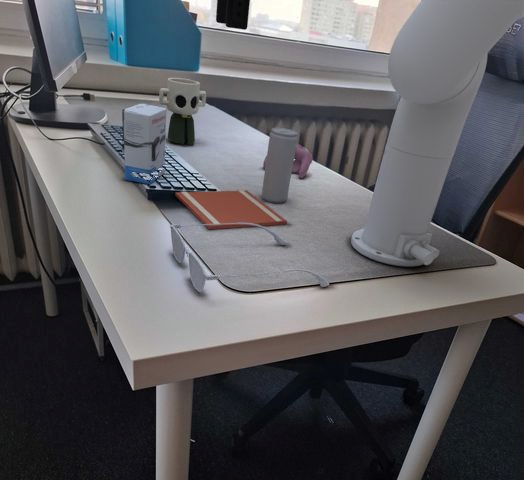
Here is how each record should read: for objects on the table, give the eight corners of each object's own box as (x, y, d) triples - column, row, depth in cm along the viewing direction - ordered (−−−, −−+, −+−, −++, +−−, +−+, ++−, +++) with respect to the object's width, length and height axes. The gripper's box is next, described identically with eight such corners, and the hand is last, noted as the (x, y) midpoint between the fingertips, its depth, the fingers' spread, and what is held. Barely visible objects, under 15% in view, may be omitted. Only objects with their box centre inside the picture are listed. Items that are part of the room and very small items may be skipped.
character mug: (163, 146, 114) (164, 82, 107) (153, 137, 119) (154, 75, 112) (208, 147, 119) (213, 85, 112) (197, 139, 124) (201, 79, 117)
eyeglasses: (167, 247, 71) (168, 220, 69) (282, 242, 78) (286, 217, 76) (203, 303, 60) (205, 272, 58) (332, 290, 67) (339, 262, 65)
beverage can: (256, 196, 95) (264, 127, 88) (275, 193, 98) (285, 127, 91) (272, 205, 92) (283, 135, 85) (292, 202, 95) (303, 134, 88)
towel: (286, 224, 85) (287, 220, 85) (208, 229, 79) (209, 225, 78) (246, 193, 95) (247, 189, 95) (175, 195, 89) (175, 191, 89)
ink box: (149, 185, 92) (150, 114, 85) (123, 180, 92) (122, 109, 85) (166, 173, 99) (168, 107, 92) (141, 168, 99) (142, 102, 92)
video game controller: (307, 183, 111) (317, 151, 110) (302, 177, 107) (313, 144, 106) (266, 172, 114) (276, 140, 113) (260, 166, 110) (270, 133, 109)
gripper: (284, -127, 63) (266, 34, 73) (256, -108, 77) (244, 25, 87) (225, -140, 62) (214, 26, 71) (206, -118, 75) (199, 19, 85)
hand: (230, 25), depth 79 cm, fingers open, 9 cm apart
